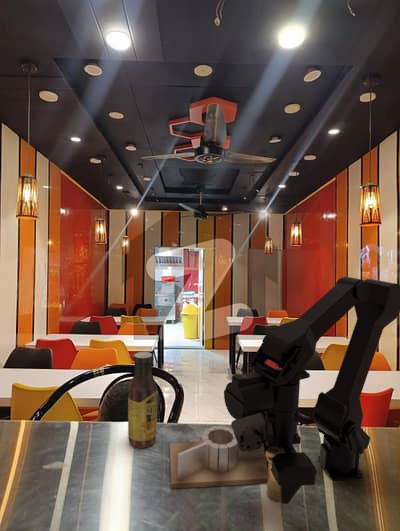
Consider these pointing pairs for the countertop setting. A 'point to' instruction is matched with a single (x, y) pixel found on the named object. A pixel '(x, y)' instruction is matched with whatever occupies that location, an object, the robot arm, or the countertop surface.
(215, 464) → the hinge
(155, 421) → the sauce bottle
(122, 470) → the countertop surface
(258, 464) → the walnut board
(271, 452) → the hinge pin
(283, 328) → the robot arm
